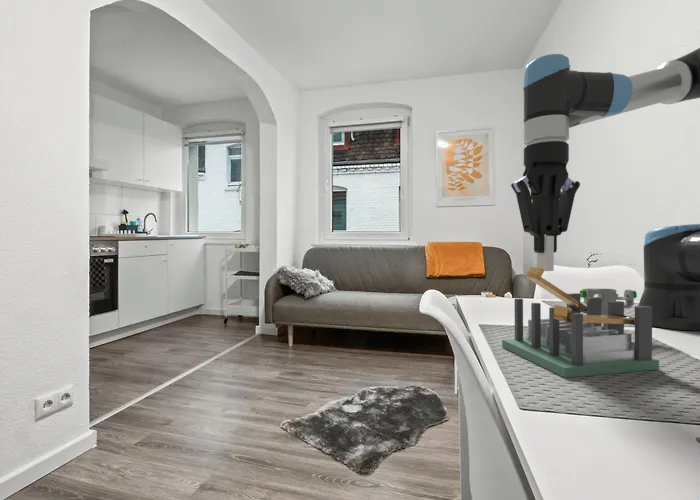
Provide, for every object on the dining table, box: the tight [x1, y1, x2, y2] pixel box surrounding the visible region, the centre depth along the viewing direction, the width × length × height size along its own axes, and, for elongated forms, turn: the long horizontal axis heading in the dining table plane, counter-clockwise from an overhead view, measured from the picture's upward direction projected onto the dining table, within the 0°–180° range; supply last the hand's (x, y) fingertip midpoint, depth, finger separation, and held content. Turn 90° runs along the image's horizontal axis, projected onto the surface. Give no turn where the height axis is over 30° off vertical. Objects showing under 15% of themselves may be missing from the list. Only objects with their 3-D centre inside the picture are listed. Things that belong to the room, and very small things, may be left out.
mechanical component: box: [579, 288, 638, 330], centre depth 83 cm, size 3×10×10 cm, turn 79°
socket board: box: [501, 337, 660, 379], centre depth 69 cm, size 17×17×2 cm
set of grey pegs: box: [514, 292, 653, 366], centre depth 69 cm, size 14×16×8 cm
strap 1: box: [525, 266, 587, 314], centre depth 74 cm, size 14×4×2 cm
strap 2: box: [553, 304, 635, 326], centre depth 64 cm, size 14×4×2 cm, turn 100°
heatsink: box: [525, 318, 635, 364], centre depth 69 cm, size 9×15×4 cm, turn 10°
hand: (545, 270), depth 73 cm, fingers closed
